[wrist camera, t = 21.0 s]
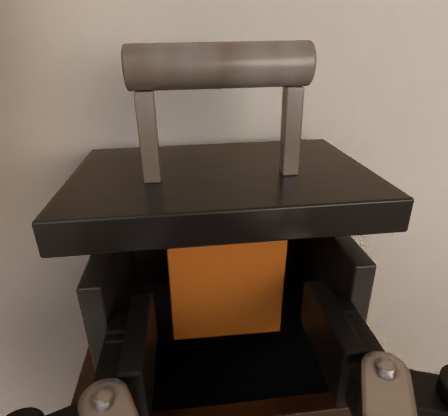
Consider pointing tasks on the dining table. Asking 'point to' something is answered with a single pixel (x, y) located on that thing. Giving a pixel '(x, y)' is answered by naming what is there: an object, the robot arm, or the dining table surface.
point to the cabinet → (239, 411)
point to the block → (226, 289)
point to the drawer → (219, 220)
